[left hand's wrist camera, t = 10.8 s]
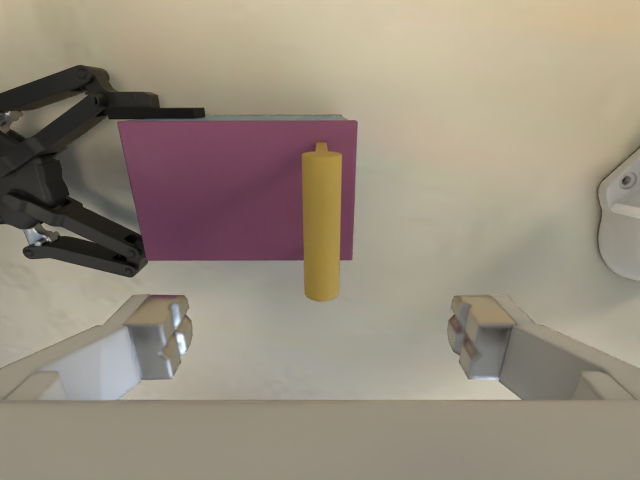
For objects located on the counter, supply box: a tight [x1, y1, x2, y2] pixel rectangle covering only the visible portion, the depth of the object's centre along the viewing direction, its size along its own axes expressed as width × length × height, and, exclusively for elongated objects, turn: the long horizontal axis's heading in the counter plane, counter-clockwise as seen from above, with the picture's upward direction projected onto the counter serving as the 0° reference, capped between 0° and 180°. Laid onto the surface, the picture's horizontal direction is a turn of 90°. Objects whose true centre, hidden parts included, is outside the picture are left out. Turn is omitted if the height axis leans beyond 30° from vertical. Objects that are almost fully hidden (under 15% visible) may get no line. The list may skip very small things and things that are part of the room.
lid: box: [118, 120, 357, 301], centre depth 21 cm, size 16×10×9 cm, turn 90°
